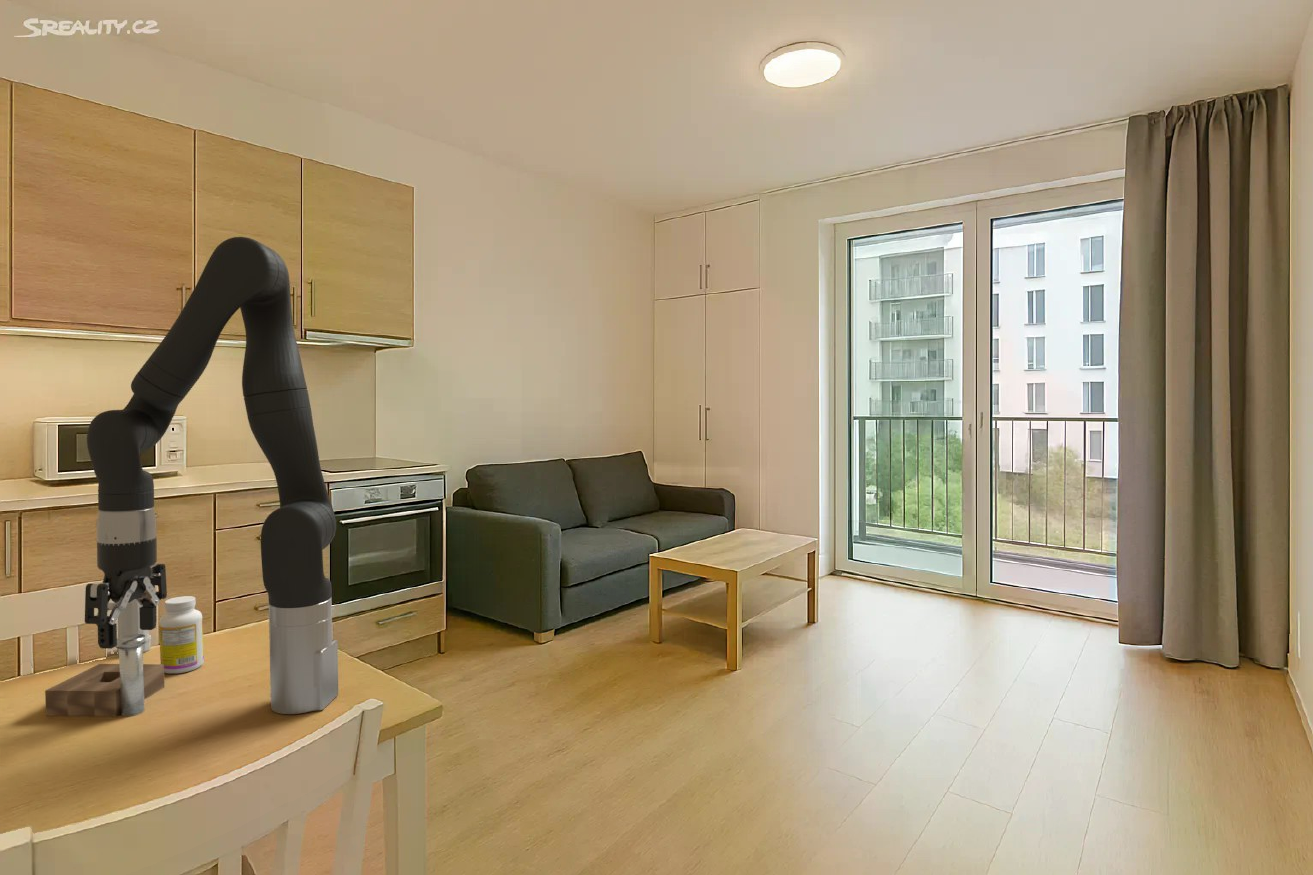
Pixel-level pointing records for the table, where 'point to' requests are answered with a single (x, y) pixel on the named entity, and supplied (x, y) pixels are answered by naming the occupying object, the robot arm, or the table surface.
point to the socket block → (97, 691)
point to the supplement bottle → (181, 636)
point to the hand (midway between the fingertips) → (128, 638)
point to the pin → (131, 674)
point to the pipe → (132, 623)
